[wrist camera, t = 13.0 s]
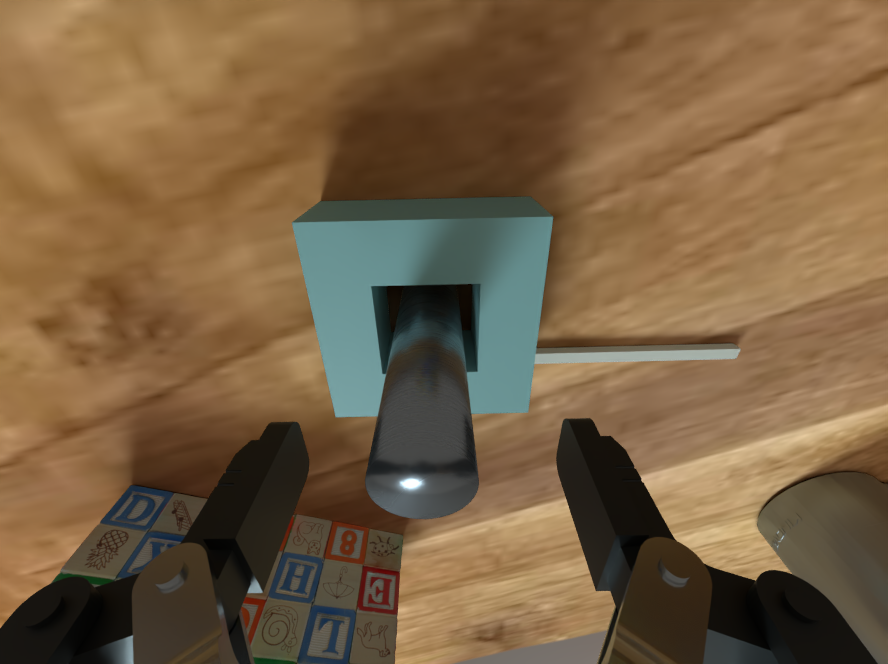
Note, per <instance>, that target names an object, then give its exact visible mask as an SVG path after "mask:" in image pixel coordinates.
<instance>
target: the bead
mask: <svg viewBox="0 0 888 664" xmlns="http://www.w3.org/2000/svg"><path fill="white" fill-rule="evenodd" d="M552 223H553V216H552V215H551V214H550V213H549V212H548V211H546V210H545V209H544V208H543V207H542V206H541V205H540V204H539V203H537V202H536V201H535V200H534V199H533V198H532V197H531V196H528V197H484V198H439V199H394V200H350V201H320V202H319V203H317V204H316V205H315V206H313V207H312V208H311V209H309V210H308V211H307V212H305V213H304V214H303V215H301V216H300V217H299V218H297V219H296V220H295V221H293V222H292V225H293V229H294V234H295V238H296V243H297V247H298V252H299V256H300V261H301V265H302V269H303V274H304V278H305V283H306V287H307V292H308V296H309V301H310V305H311V310H312V314H313V318H314V323H315V327H316V332H317V336H318V341H319V345H320V350H321V354H322V358H323V363H324V367H325V372H326V376H327V381H328V385H329V390H330V394H331V398H332V403H333V407H334V412H335V416H336V417H365V416H378V412H379V407H380V402H381V397H382V392H383V387H384V382H385V377H386V371H387V366H388V361H389V356H390V351H391V346H392V341H393V336H394V332H391V325H390V316H389V307H388V297H387V288H386V286H402V285H444V284H472V310H471V330H462V335H463V344H464V353H465V362H466V371H467V380H468V389H469V398H470V407H471V414H484V413H524V412H528V409H529V401H530V393H531V385H532V378H533V370H534V362H535V355H536V347H537V339H538V331H539V324H540V316H541V308H542V301H543V293H544V285H545V277H546V270H547V262H548V254H549V246H550V239H551V231H552Z"/></svg>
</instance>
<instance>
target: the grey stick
mask: <svg viewBox="0 0 888 664" xmlns="http://www.w3.org/2000/svg"><path fill="white" fill-rule="evenodd" d="M739 352H740V348H739V347H738V346H736V345H735V344H734V343H729V344H688V345H647V346H606V347H565V348H536V355H535V362H534V364H545V363H586V362H626V361H667V360H707V359H736V358H737V356H738V354H739Z"/></svg>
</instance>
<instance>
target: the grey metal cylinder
mask: <svg viewBox="0 0 888 664" xmlns="http://www.w3.org/2000/svg"><path fill="white" fill-rule="evenodd" d="M365 485H366V489H367V492H368V494H369V496H370V497H371V498H372V500H373V501H374V502H375V503H376V504H377V505H379V506H380V507H381V508H383V509H385V510H386V511H388V512H391V513H393V514H396V515H399V516H402V517H407V518H414V519H432V518H438V517H443V516H446V515H449V514H452V513H454V512H457V511H459V510H460V509H462V508H463V507H465V506H466V505H467V504H468V503H469V502H471V500H472V499H473V498H474V496H475V495H476V493H477V490H478V485H479V478H478V469H477V460H476V451H475V443H474V434H473V425H472V416H471V407H470V398H469V389H468V380H467V371H466V362H465V353H464V344H463V335H462V326H461V317H460V308H459V299H458V290H457V286H456V284H444V285H404V287H403V291H402V296H401V301H400V306H399V311H398V316H397V321H396V326H395V331H394V336H393V341H392V346H391V351H390V356H389V361H388V366H387V371H386V377H385V382H384V387H383V392H382V397H381V402H380V407H379V412H378V417H377V422H376V427H375V432H374V437H373V442H372V447H371V452H370V457H369V462H368V467H367V472H366V478H365Z"/></svg>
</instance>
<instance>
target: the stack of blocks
mask: <svg viewBox="0 0 888 664" xmlns="http://www.w3.org/2000/svg"><path fill="white" fill-rule="evenodd" d="M207 500H208V499H205V498H199V497H194V496H189V495H183V494H178V493H172V492H168V491H163V490H157V489H152V488H146V487H140V486H135V485H131V486H130V487H129V488H128V489H127V490H126V492H125V493H124V494H123V495H122V496H121V498H120V499H119V500H118V501H117V502H116V504H115V505H114V506H113V507H112V508H111V510H110V511H109V512H108V513H107V514H106V516H105V517H104V518H103V519H102V520H101V522H100V524H99V525H97V526H96V527H95V528H94V530H93V531H92V532H91V533H90V534H89V536H88V537H87V538H86V539H85V540H84V542H83V543H82V544H81V545H80V546H79V548H78V549H77V550H76V551H75V553H74V554H73V555H72V556H71V557H70V559H69V560H68V561H67V562H66V564H65V565H64V566H63V568H62V569H61V571H60V574H58V575H57V576H56V578H55V579H54V580H53V581H52V583H53V582H56V581H58V580H61V579H64V578H67V577H74V576H78V577H83V578H85V579H87V580H88V581H89V582H90V583H91V584H92V585H93V586H94V587H97V586H100V585H103V584H107V583H110V582H113V581H116V580H119V579H122V578H125V577H129V576H132V575H135V574H138V573H140V572H142V570H143V569H144V568H145V567H146V566H147V565H148V564H149V563H150V562H151V561H152V560H153V559H154V558H155V557H157V556H158V555H159V554H161V553H162V552H164V551H166V550H167V549H169V548H171V547H173V546H176V545H179V544H180V543H181V541H182V540H183V539H184V537H185V535H186V534H187V532H188V531H189V529H190V527H191V526H192V524H193V522H194V521H195V519H196V518H197V516H198V514H199V513H200V511H201V510H202V508H203V506H204V505H205V503H206V501H207ZM402 543H403V535H400V534H394V533H389V532H384V531H379V530H374V529H369V528H366V527H361V526H356V525H351V524H345V523H340V522H333V521H330V520H325V519H320V518H314V517H309V516H303V515H293V516H292V518H291V521H290V523H289V526H288V529H287V531H286V534H285V537H284V539H283V542H282V545H281V547H280V550H279V552H278V555H277V558H276V560H275V563H274V566H273V568H272V571H271V574H270V576H269V579H268V581H267V584H266V587H265V589H264V592H263V593H247V595H246V597H245V600H244V602H243V604H242V607H241V611H242V614H243V618H244V622H245V626H246V630H247V634H248V638H249V643H250V647H251V651H252V655H253V659H254V663H255V664H395V650H396V635H397V614H398V598H399V581H400V569H401V556H402Z"/></svg>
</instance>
